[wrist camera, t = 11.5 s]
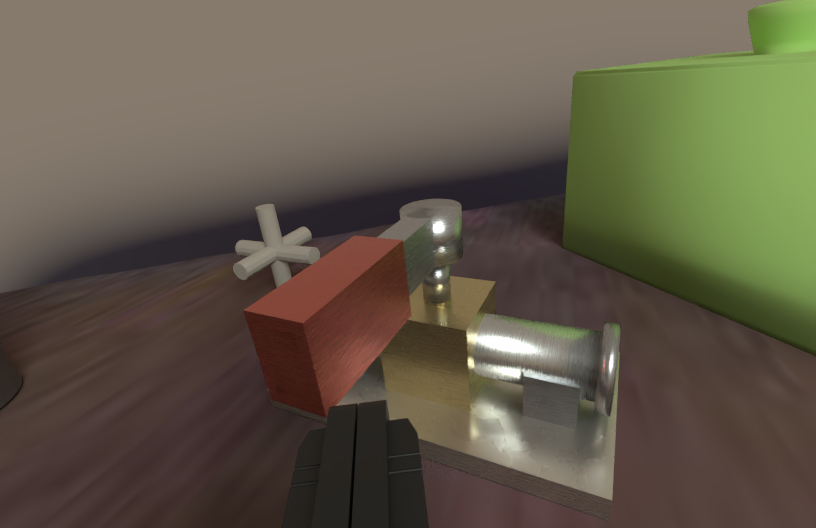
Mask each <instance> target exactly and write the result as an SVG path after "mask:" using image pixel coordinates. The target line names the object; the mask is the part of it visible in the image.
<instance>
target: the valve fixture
mask: <svg viewBox="0 0 816 528" xmlns="http://www.w3.org/2000/svg"><path fill="white" fill-rule="evenodd" d="M409 298H410V307H411V317H410V318H409V319H408V320H407V322H406V323H405V324H404V325H403V326H402V328H401V329H400V330H399V331H398V332H397V334H396V335H395V336H394V337H393V338H392V340H391V341H390V342H389V343H388V344H387V346H386V347H385V348H384V349H383V350H382V352H381V353H380V354H379V355H378V356H377V358H376V359H375V360H374V361H373V362H372V364H371V365H370V366H369V367H368V368H367V370H366V371H365V372H364V373H363V374H362V376H361V377H360V378H359V379H358V380H357V382H356V383H355V384H354V385H353V386H352V388H351V389H350V390H349V391H348V392H347V394H346V395H345V396H344V397H343V398H342V400H341V401H340V402H339V403H338V404H337V406H339V405H347V404H355V403H358V406H359V403H364V402H372V401H380V400H387V405H388V411H389V418H390V420H396V419H404V418H408V419H409V421H410V422H411V424H412V425H413V427H414V428H415V430H416V431H417V433H418V441H419V449H420V456H421V457H424V458H427V459H430V460H433V461H436V462H439V463H442V464H445V465H447V466H450V467H453V468H456V469H459V470H462V471H465V472H468V473H471V474H474V475H477V476H480V477H482V478H485V479H488V480H491V481H494V482H497V483H500V484H503V485H506V486H509V487H512V488H515V489H518V490H520V491H523V492H526V493H529V494H532V495H535V496H538V497H541V498H544V499H547V500H550V501H553V502H555V503H558V504H561V505H564V506H567V507H570V508H573V509H576V510H579V511H582V512H585V513H588V514H591V515H593V516H596V517H599V518H602V519H605V520H608V521H609V516H610V510H611V504H612V493H613V473H614V453H615V433H616V413H617V394H618V374H619V354H620V352H619V341H620V324H619V323H612V322H605V321H604V329H603V332H602V331H595V330H589V329H583V328H577V327H571V326H564V325H558V324H552V323H546V322H540V321H533V320H527V319H521V318H515V317H509V316H502V315H496V282H494V281H486V280H478V279H470V278H462V277H454V276H450V268H449V265H446V266H442V267H436V268H435V269H434V270H433V271H432V272H431V273H430V274H429V275H428V276H427V278H426V279H425V280H424V281H423V282H422V283H421V284H420V285H419V286H418V287H417V289H416V290H415V291H414V292H413V293H412V294H411V295H410V296H409ZM268 393H269V390H268ZM269 396H270V393H269ZM270 399H271V396H270ZM271 402H272V406H275V407H278V408H281V409H284V410H287V411H290V412H293V413H296V414H299V415H301V416H304V417H307V418H310V419H313V420H316V421H319V422H322V423H325V424H326V423H327V418H325V417H322V416H319V415H316V414H313V413H310V412H307V411H304V410H301V409H298V408H295V407H292V406H289V405H286V404H283V403H280V402H277V401H274V400H272V399H271Z"/></svg>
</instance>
